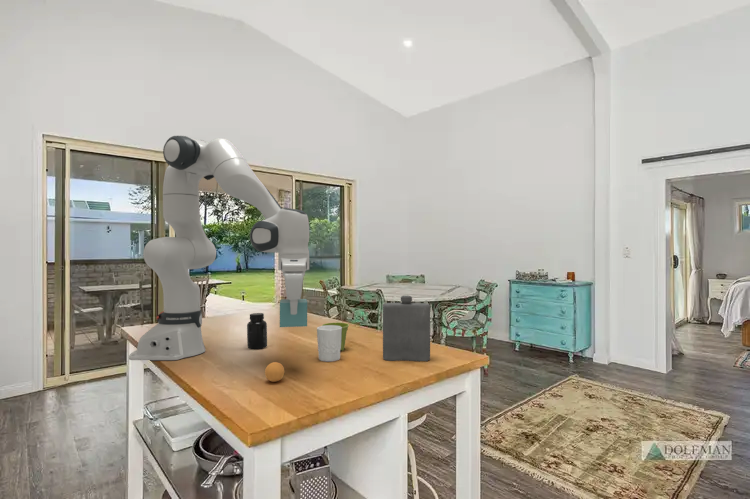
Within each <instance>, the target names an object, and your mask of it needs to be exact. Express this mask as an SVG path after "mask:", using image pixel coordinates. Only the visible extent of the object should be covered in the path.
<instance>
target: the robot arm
mask: <svg viewBox="0 0 750 499" xmlns="http://www.w3.org/2000/svg"><path fill="white" fill-rule="evenodd" d="M162 150H163V151H162V154H163V159H164V161H165V162H166V164H167V165H168V166H167V167H166V169H165V170H164V171H165V172H164V177H163V184H162V212H163V213H162V216H163V219H164V220H163V221H164V222H166V224H168V225H170V227H171V228H172V229H173V231H174V234H175V236H163V237H158V238H154V239H151V240H148V242H147V243H146V244H145V246H144V248H143V254H142V255H143V260H144V262H145V264H146V265H147V266H148V267H149V268H150V269H151V270H152V271H154V272H155V273H156V275H157V277H158V279H159V281H160V283H161V287H162V291H163V311H161V312H160V313H159V314H158V315H157V316H155V319H156V320H157V324H155V325H154V326H153V327H151V328H150V329H149V330H147V331H146V332H145V333H144V334H143V335H141V337H140V338H139V339H138V343H137V347H136V350H134V351H132V352H131V353H130V354H129V355H128V360H129V361H178V360H180V359H184V358H189V357H193V356H197V355H201V354H203V353H205V352H206V347H205V344H204V340H203V335H202V324H203V314H202V309H201V288H200V286H199V284H197V283H196V282H194V281H193V280H192V278H191V277H190V273H189V270H197V269H202V268H203V269H204V268H206V267H209V266H211V265H212V264H213V263H214V262H215V260H216V256H217V249H216V246H215V244H214V243H213V242H212V241H211V240H210V239H209V238H208V236H207V235H206V233H205V230H204V228H203V224H202V221H201V213H200V189H199V188H200V187H199V186H200V181H201V180H202V179H205V180H207V181H209V180H212V179H213V178H214V179H215V181H216V183H217V184H218V186H219V187H220V188H221V190H222V191H223V192H224V193H226V194H227V195H228V196H229V197H232V198H235V199H238V200H240V201H243V202H245V203H248V204H250V205H252V206H253V207H255V208H256V209H257V210H258V211H259V212H260V213H261V215H263V217H264V218H265V219H262V220H259V221H257V222H255V223H254V224H253V226H252V227H251V228H250V229H251V230H250V232H249V240H250V244H251V245H252V247H253V248H254V249H255V250H256V251H257V252H261V253H272V254H274V253H277V254H278V255H277V257H278V260H277V262H278V265H277V266H278V268H277V269H278V271H281V272H282V276H283V278H284V285H285V294H286V299H288V300H290V308H291V314H292V315H296V314H297V305H298V300H299V299H302V298H301V297H302V292H303V282H304V276H306V271H310V251H309V241H310V223H309V216H308V214H307V213H306V212H305V211H303V210H302V209H296V208H290V207H284V208H282V206H281V205H280V204H279V202H278V200H276V198H275V196H274V195H273V194H272V193H271V192H270V190H269V189H268V188H267V187H266V186H265V184H263V182H262V181H261V180H260V179H259V178H258V176H257V175H256V173H255V172H254V171H253V169H252V167H251V166H250V165H249V163H248V161H247V160H246V158H245V157H244V156H243V154H242V152H241V151H240V150H239V149H238V148H237V147H236V145H235V144H233V142H232V141H231V140H229V139H227V138H225V137H218V138H214V139H212V140H210V141H209V142H208V141H206V140H203V139H197V138H192V137H188V136H186V135H173V136H171V137H169V138H168V139H167V140H166V142H165V143H164V145H163V149H162Z"/></svg>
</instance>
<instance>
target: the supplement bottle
mask: <svg viewBox="0 0 750 499" xmlns="http://www.w3.org/2000/svg"><path fill="white" fill-rule="evenodd" d="M264 319H265V313H264V312H254V313H249V320H250V321H248V323H247V325H246V334H247V335H246V336H247V337H246V340H247V341H246V342H247V345H246V346H247V348H248V349H249V350H253V351H254V350H263V349H265V348H267V347H268V324H267V322H266V320H264Z"/></svg>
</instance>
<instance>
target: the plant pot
mask: <svg viewBox="0 0 750 499" xmlns="http://www.w3.org/2000/svg"><path fill="white" fill-rule="evenodd" d="M325 325H336V326H341V327H342V335H341V350H340V352H341V351H342V352H343V351H345V347H346V339H347V334H348V328H349V326H350V324H349V323H347V322H346V323H345V322H328V323H323V324H322V325H321V326H325Z"/></svg>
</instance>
